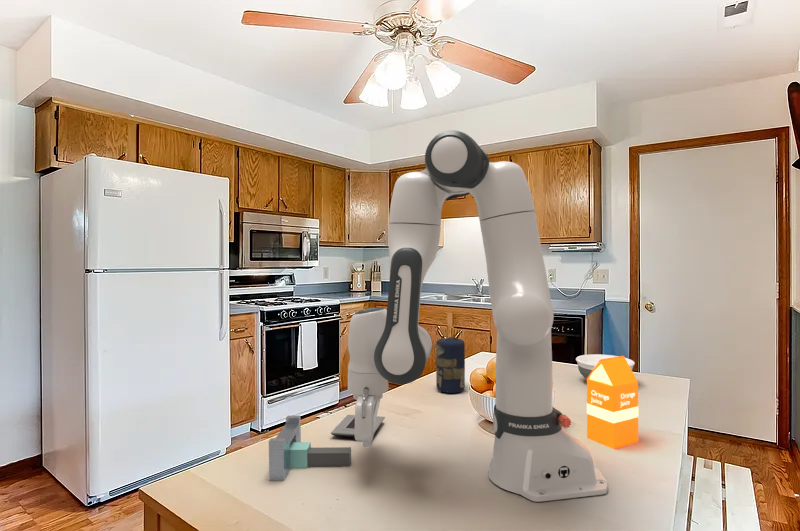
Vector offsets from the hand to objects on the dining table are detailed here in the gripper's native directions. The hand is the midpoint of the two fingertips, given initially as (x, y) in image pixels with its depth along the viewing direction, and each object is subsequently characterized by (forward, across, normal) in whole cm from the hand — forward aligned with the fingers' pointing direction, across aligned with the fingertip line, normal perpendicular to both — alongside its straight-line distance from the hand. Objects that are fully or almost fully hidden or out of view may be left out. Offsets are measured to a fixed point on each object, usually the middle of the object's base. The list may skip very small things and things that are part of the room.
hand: (367, 444), depth 101 cm
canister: (+4, +54, -23) cm, 59 cm away
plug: (+4, 0, +11) cm, 12 cm away
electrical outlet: (+5, +19, +4) cm, 20 cm away
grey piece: (+4, 0, +18) cm, 18 cm away
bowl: (+3, +61, -77) cm, 98 cm away
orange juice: (+3, +12, -58) cm, 60 cm away
